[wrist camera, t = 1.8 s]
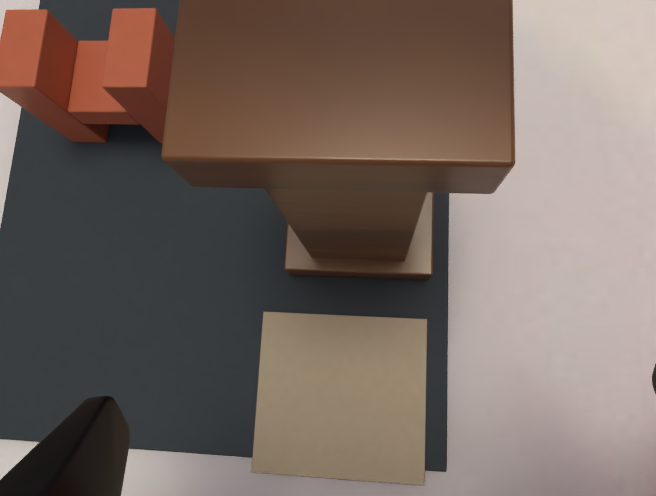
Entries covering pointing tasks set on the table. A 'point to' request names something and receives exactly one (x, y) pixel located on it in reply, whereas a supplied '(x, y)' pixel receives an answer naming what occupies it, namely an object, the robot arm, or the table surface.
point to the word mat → (205, 312)
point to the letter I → (345, 118)
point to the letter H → (88, 72)
